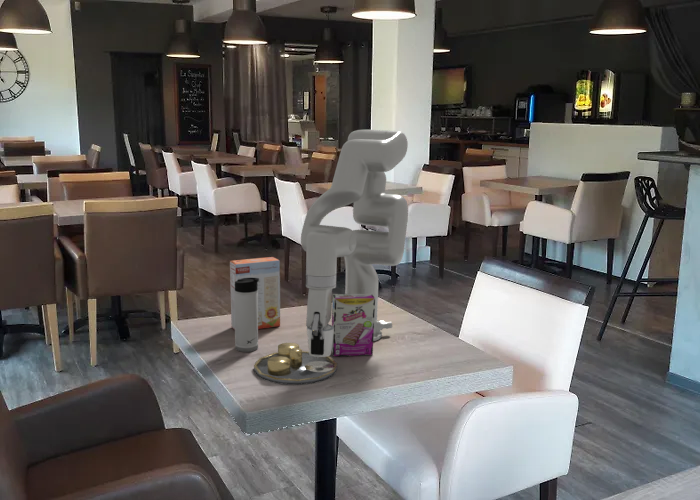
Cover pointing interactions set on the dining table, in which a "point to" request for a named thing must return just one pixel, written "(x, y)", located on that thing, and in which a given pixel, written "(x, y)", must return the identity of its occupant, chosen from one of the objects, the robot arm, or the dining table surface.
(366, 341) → the candy bar box
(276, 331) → the dining table surface
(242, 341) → the travel mug
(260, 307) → the cracker box
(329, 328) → the shot glass
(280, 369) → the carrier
